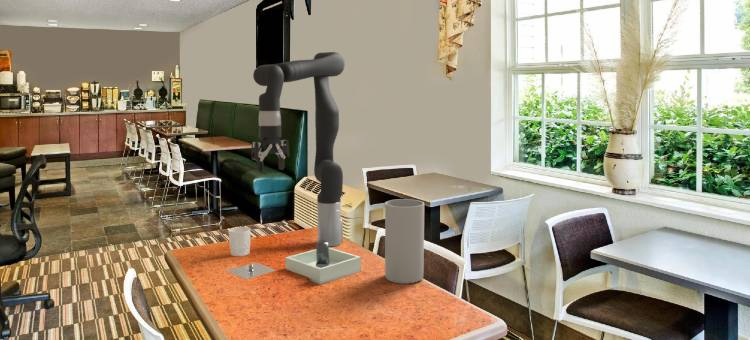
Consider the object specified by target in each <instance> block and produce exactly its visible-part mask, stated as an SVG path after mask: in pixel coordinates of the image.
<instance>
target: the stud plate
mask: <svg viewBox="0 0 750 340" xmlns="http://www.w3.org/2000/svg"><path fill="white" fill-rule="evenodd" d="M276 271H277V270H276V269H275V268H271V267H270V266H269V267H268V266H266V265H264V264H261V263H259V262H253V263H250V264H246V265H241V266H238V267H234V268H231V269H227V270H226V272H228V273H230V274H233V275H234V276H237V277H239V278H242V279H244V280H249V279H252V278H256V277H259V276H262V275H265V274H266V275H267V274H269V273H272V272H276Z"/></svg>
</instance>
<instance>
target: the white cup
mask: <svg viewBox="0 0 750 340" xmlns="http://www.w3.org/2000/svg"><path fill="white" fill-rule="evenodd" d="M251 229H252V228H250V227H247V226H246V227H245V226H237V227H236V226H235V227H231V228H229V229H228V240H229V242H228V243H229V247H230V248H229V249H230V250H229V251H230V255H231V256H233V257H243V256H244V257H245V256H247V255H250V252H251V251H250V248H251Z"/></svg>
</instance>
